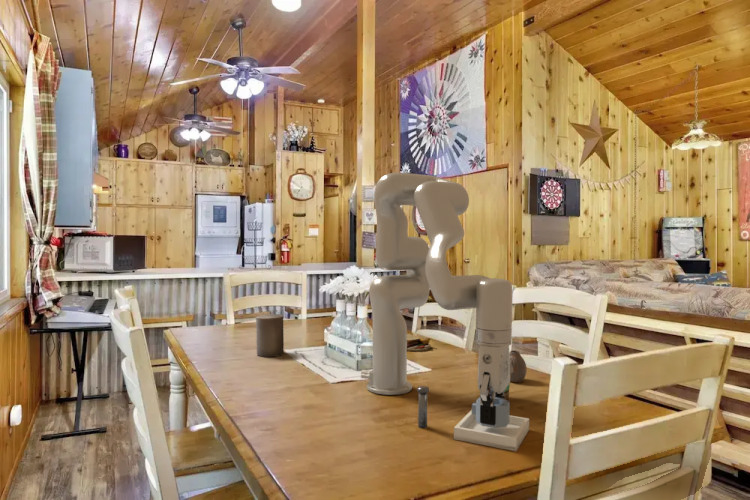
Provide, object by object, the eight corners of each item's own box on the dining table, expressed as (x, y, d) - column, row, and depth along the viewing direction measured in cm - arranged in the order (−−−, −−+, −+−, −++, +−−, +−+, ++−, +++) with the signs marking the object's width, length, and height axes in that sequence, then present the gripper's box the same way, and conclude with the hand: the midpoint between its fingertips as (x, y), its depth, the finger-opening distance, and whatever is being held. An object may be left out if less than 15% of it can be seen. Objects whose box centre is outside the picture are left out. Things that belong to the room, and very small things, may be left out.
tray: (453, 439, 109) (453, 427, 109) (472, 419, 120) (472, 409, 120) (516, 451, 103) (516, 439, 103) (529, 429, 114) (529, 418, 114)
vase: (527, 384, 149) (527, 354, 148) (502, 383, 150) (503, 353, 150) (525, 378, 155) (525, 349, 155) (501, 376, 157) (502, 348, 157)
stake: (415, 427, 115) (415, 388, 115) (419, 423, 118) (419, 385, 117) (425, 429, 114) (426, 390, 114) (430, 425, 116) (430, 387, 116)
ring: (504, 429, 107) (504, 408, 107) (468, 423, 111) (468, 402, 110) (511, 419, 113) (511, 399, 113) (477, 413, 116) (477, 394, 116)
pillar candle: (289, 353, 186) (289, 311, 186) (270, 358, 178) (270, 315, 178) (269, 350, 192) (269, 309, 191) (250, 355, 183) (249, 313, 183)
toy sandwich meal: (412, 354, 187) (413, 341, 187) (389, 347, 198) (389, 335, 198) (437, 349, 195) (438, 337, 194) (414, 343, 205) (414, 331, 205)
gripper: (501, 345, 101) (499, 435, 102) (519, 331, 117) (518, 409, 117) (464, 341, 105) (463, 428, 105) (487, 328, 120) (486, 404, 121)
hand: (492, 417), depth 111 cm, fingers closed on ring, 6 cm apart
